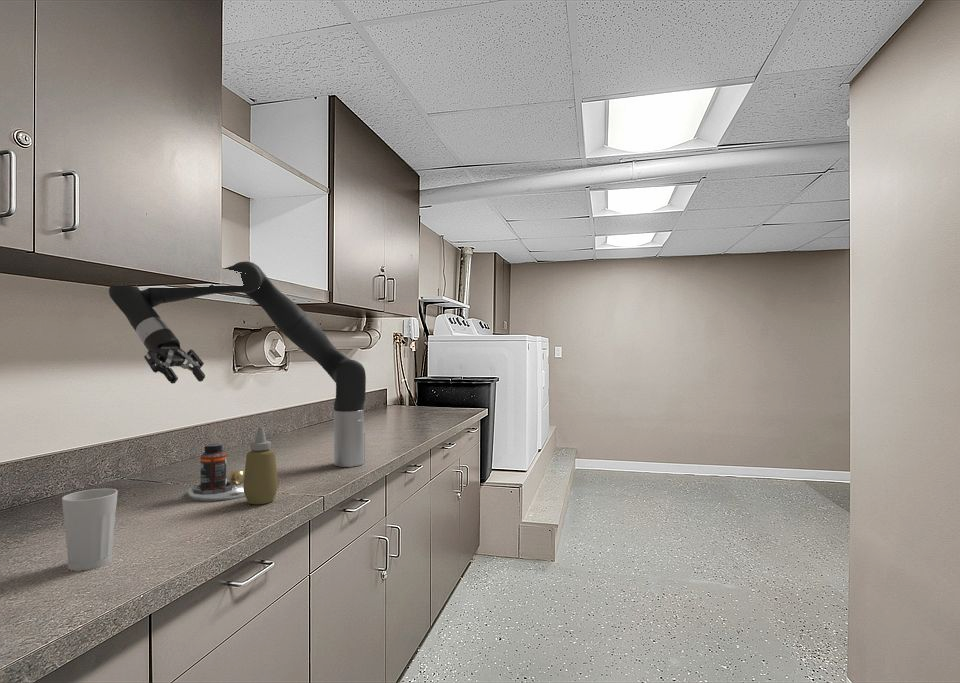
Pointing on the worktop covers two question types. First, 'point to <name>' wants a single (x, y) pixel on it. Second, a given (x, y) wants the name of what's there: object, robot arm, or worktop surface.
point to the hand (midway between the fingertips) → (189, 380)
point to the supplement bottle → (213, 467)
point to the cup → (89, 527)
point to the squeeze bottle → (260, 471)
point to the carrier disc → (221, 489)
